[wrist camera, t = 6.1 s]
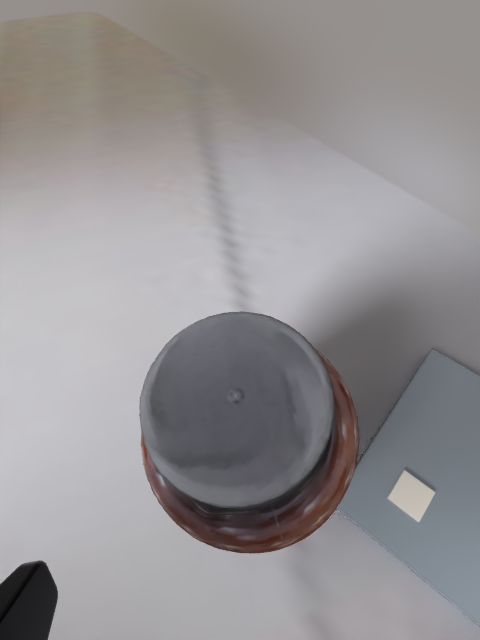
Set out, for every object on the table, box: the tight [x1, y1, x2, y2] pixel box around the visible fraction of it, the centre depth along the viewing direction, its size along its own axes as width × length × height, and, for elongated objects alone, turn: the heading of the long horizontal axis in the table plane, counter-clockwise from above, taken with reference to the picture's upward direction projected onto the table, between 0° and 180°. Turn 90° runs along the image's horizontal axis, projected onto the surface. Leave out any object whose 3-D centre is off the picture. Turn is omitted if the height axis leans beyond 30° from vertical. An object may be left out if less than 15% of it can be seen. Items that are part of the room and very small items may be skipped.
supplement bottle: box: [140, 312, 359, 553], centre depth 12 cm, size 6×6×11 cm
